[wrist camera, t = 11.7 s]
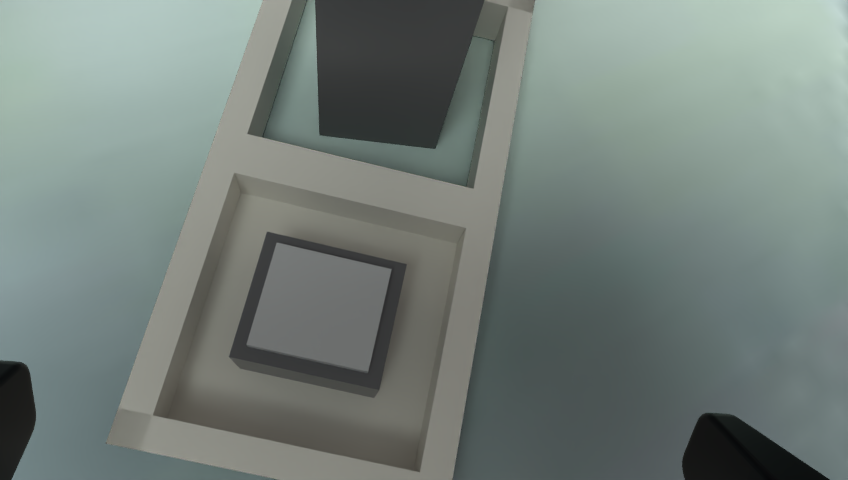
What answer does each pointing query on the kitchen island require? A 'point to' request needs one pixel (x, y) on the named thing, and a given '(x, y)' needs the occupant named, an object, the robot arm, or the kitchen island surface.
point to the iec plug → (390, 66)
